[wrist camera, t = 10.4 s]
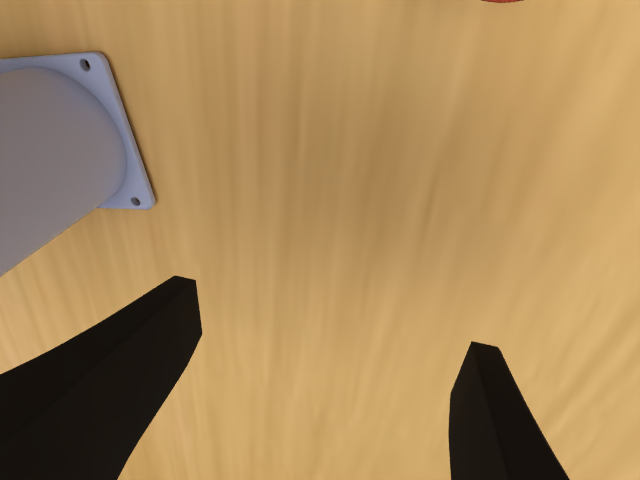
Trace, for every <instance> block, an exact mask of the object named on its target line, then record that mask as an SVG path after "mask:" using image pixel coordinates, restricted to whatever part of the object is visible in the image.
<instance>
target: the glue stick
mask: <svg viewBox="0 0 640 480" xmlns="http://www.w3.org/2000/svg"><path fill="white" fill-rule="evenodd" d="M482 1H488V2H496V3H507V2H516V1H522V0H482Z"/></svg>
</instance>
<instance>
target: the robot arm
mask: <svg viewBox="0 0 640 480" xmlns="http://www.w3.org/2000/svg"><path fill="white" fill-rule="evenodd" d="M85 60H86V61H88V63H89V64H90V68H89V67H88V66H87V65H86V61H85ZM136 198H137V199H138V200H139V201H140V202H139V201H137V200H136ZM154 205H155V197H154V194H153V192H152V189H151V186H150V183H149V180H148V177H147V174H146V171H145V168H144V165H143V162H142V159H141V157H140V154H139V151H138V148H137V145H136V142H135V139H134V136H133V133H132V130H131V127H130V124H129V122H128V119H127V116H126V113H125V110H124V107H123V104H122V101H121V98H120V95H119V92H118V89H117V87H116V84H115V81H114V78H113V75H112V72H111V69H110V66H109V63H108V61H107V59H106V57H105V56H104V55H103V54H101V53H100V52H97V51H91V52H79V53H66V54H54V55H41V56H29V57H16V58H4V59H0V277H1V276H2V275H4V274H5V273H6V272H8V271H9V270H11V269H12V268H13V267H15V266H16V265H18V264H19V263H20V262H22V261H23V260H24V259H26V258H27V257H29V256H30V255H31V254H33V253H34V252H36V251H37V250H38V249H40V248H41V247H43V246H44V245H45V244H47V243H48V242H49V241H51V240H52V239H54V238H55V237H56V236H58V235H59V234H61V233H62V232H63V231H65V230H66V229H67V228H69V227H70V226H72V225H73V224H74V223H76V222H77V221H79V220H80V219H81V218H83V217H84V216H85V215H87V214H88V213H90V212H91V211H92V210H94V209H95V208H115V209H150V208H151V207H153V206H154ZM201 335H202V327H201V319H200V311H199V303H198V295H197V287H196V280H193V279H188V278H184V277H179V276H173V277H172V278H170V279H168V280H167V281H165V282H163V283H162V284H160V285H159V286H157V287H156V288H154V289H152V290H151V291H149V292H148V293H146V294H145V295H143V296H142V297H140V298H138V299H137V300H135V301H134V302H132V303H131V304H129V305H127V306H126V307H124V308H122V309H121V310H119V311H118V312H116V313H114V314H113V315H111V316H110V317H108V318H106V319H105V320H103V321H101V322H100V323H98V324H96V325H95V326H93V327H91V328H89V329H87V330H86V331H84V332H82V333H80V334H79V335H77V336H75V337H73V338H72V339H70V340H68V341H66V342H65V343H63V344H61V345H59V346H57V347H55V348H54V349H52V350H50V351H48V352H46V353H44V354H42V355H40V356H38V357H36V358H34V359H32V360H30V361H28V362H26V363H24V364H22V365H19V366H17V367H15V368H13V369H11V370H9V371H7V372H5V373H2V374H0V480H117V479H118V477H119V475H120V473H121V471H122V469H123V467H124V466H125V464H126V462H127V460H128V458H129V456H130V455H131V453H132V451H133V450H134V448H135V446H136V445H137V443H138V441H139V440H140V438H141V437H142V435H143V433H144V432H145V430H146V429H147V427H148V426H149V424H150V423H151V421H152V420H153V418H154V417H155V415H156V413H157V412H158V410H159V409H160V407H161V406H162V404H163V403H164V401H165V400H166V398H167V397H168V395H169V394H170V392H171V390H172V389H173V387H174V386H175V384H176V383H177V381H178V379H179V378H180V376H181V375H182V373H183V372H184V370H185V368H186V367H187V365H188V363H189V361H190V359H191V357H192V355H193V353H194V351H195V348H196V346H197V344H198V342H199V340H200V338H201ZM449 452H450V468H451V480H570V479H569V478H568V476H567V474H566V473H565V471H564V469H563V468H562V466H561V465H560V463H559V461H558V460H557V458H556V456H555V455H554V453H553V451H552V449H551V448H550V446H549V444H548V443H547V441H546V439H545V437H544V435H543V434H542V432H541V430H540V428H539V426H538V424H537V423H536V421H535V419H534V417H533V415H532V414H531V412H530V410H529V408H528V406H527V404H526V402H525V400H524V398H523V396H522V394H521V392H520V390H519V388H518V386H517V384H516V382H515V380H514V378H513V376H512V374H511V372H510V370H509V368H508V366H507V364H506V361H505V359H504V357H503V355H502V353H501V351H500V350H499V348H498V347H495V346H491V345H486V344H482V343H477V342H473V341H471V344H470V346H469V349H468V351H467V354H466V356H465V359H464V361H463V364H462V366H461V369H460V371H459V374H458V376H457V379H456V381H455V384H454V386H453V389H452V391H451V396H450V413H449Z"/></svg>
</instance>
